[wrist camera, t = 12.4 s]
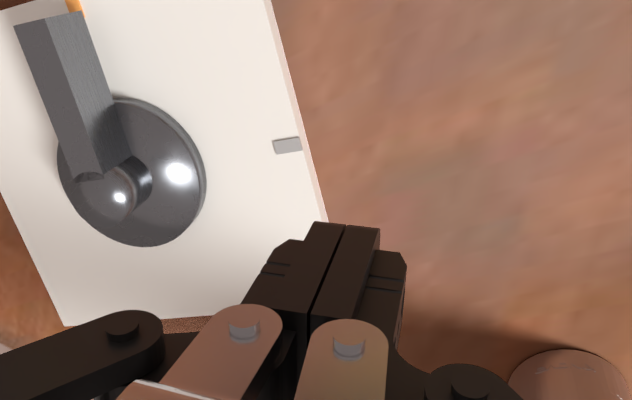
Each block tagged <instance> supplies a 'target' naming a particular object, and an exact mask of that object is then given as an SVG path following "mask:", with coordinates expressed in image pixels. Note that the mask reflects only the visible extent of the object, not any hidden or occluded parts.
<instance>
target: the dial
mask: <svg viewBox="0 0 632 400" xmlns="http://www.w3.org/2000/svg"><path fill="white" fill-rule="evenodd" d="M13 28H14V30H15V33H16V35H17V38H18V40H19V43H20V45H21V48H22V50H23V53H24V55H25V58H26V60H27V63H28V65H29V68H30V70H31V73H32V75H33V78H34V80H35V83H36V86H37V88H38V91H39V93H40V96H41V98H42V101H43V103H44V106H45V108H46V111H47V113H48V116H49V118H50V121H51V123H52V126H53V128H54V131H55V133H56V136H57V138H58V141H59V142H58V148H57V168H58V173H59V178H60V181H61V184H62V187H63V189H64V191H65V193H66V195H67V197H68V199H69V201H70V202H71V204H72V205H73V207H74V209H75V210H76V212H77V213H78V214H79V215H80V216H81V217H82V218H83V219H84V220H85V221H86V222H87V223H88V224H89V225H91V226H92V227H93V228H94V229H96V230H97V231H98V232H100V233H101V234H103V235H105V236H106V237H108V238H110V239H112V240H114V241H117V242H120V243H122V244H126V245H130V246H135V247H154V246H160V245H163V244H166V243H168V242H170V241H172V240H174V239H176V238H177V237H179V236H180V235H181V234H182V233H183V232H184V231H185V230H186V229H187V228H188V227H189V226H190V225H191V224H192V223H193V222H194V221H195V219H196V218H197V216H198V215H199V213H200V211H201V209H202V207H203V204H204V201H205V197H206V190H207V180H206V172H205V167H204V163H203V160H202V158H201V155H200V153H199V151H198V149H197V147H196V145H195V143H194V141H193V140H192V138H191V137H190V135H189V134H188V133H187V132H186V130H185V129H184V128H183V127H182V126H181V125H180V124H179V123H178V122H177V121H176V120H175V119H174V118H172V117H171V116H170V115H169V114H167V113H166V112H164V111H163V110H161V109H159V108H158V107H156V106H153V105H151V104H149V103H146V102H143V101H140V100H136V99H130V98H112V95H111V92H110V90H109V87H108V84H107V81H106V78H105V75H104V73H103V70H102V67H101V64H100V61H99V58H98V56H97V53H96V50H95V47H94V44H93V41H92V38H91V36H90V33H89V30H88V27H87V24H86V21H85V19H84V16H83V13H82V10H80V11H76V12H71V13H66V14H62V15H57V16H52V17H48V18H43V19H39V20H35V21H31V22H27V23H23V24H18V25H14V26H13Z"/></svg>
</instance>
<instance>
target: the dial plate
mask: <svg viewBox="0 0 632 400" xmlns="http://www.w3.org/2000/svg"><path fill="white" fill-rule="evenodd" d="M80 10H82V13H83V16H84V19H85V21H86V24H87V27H88V30H89V33H90V36H91V38H92V41H93V44H94V47H95V50H96V53H97V56H98V58H99V61H100V64H101V67H102V70H103V73H104V75H105V78H106V81H107V84H108V87H109V90H110V92H111V95H112V98H130V99H136V100H140V101H143V102H146V103H149V104H151V105H153V106H156V107H158V108H159V109H161V110H163V111H164V112H166V113H167V114H169V115H170V116H171V117H172V118H174V119H175V120H176V121H177V122H178V123H179V124H180V125H181V126H182V127H183V128H184V129H185V130H186V132H187V133H188V134H189V135H190V137H191V138H192V140H193V141H194V143H195V145H196V147H197V149H198V151H199V153H200V155H201V158H202V160H203V163H204V167H205V172H206V180H207V190H206V197H205V201H204V204H203V207H202V209H201V211H200V213H199V215H198V216H197V218H196V219H195V221H194V222H193V223H192V224H191V225H190V226H189V227H188V228H187V229H186V230H185V231H184V232H183V233H182V234H181V235H180V236H179V237H177V238H176V239H174V240H172V241H170V242H168V243H166V244H163V245H160V246H154V247H135V246H130V245H126V244H122V243H120V242H117V241H114V240H112V239H110V238H108V237H106V236H105V235H103V234H101V233H100V232H98V231H97V230H96V229H94V228H93V227H92V226H91V225H89V224H88V223H87V222H86V221H85V220H84V219H83V218H82V217H81V216H80V215H79V214H78V213H77V212H76V210H75V209H74V207H73V205H72V204H71V202H70V201H69V199H68V197H67V195H66V193H65V191H64V189H63V187H62V184H61V181H60V178H59V173H58V168H57V148H58V142H59V141H58V138H57V136H56V133H55V131H54V128H53V126H52V123H51V121H50V118H49V116H48V113H47V111H46V108H45V106H44V103H43V101H42V98H41V96H40V93H39V91H38V88H37V86H36V83H35V80H34V78H33V75H32V73H31V70H30V68H29V65H28V63H27V60H26V58H25V55H24V53H23V50H22V48H21V45H20V43H19V40H18V38H17V35H16V33H15V30H14V28H13V26H14V25H18V24H23V23H27V22H31V21H35V20H39V19H43V18H48V17H52V16H57V15H62V14H66V13H71V12H76V11H80ZM0 192H1V194H2V197H3V199H4V201H5V203H6V205H7V207H8V209H9V211H10V213H11V215H12V218H13V220H14V222H15V224H16V226H17V228H18V230H19V232H20V234H21V236H22V239H23V241H24V243H25V245H26V247H27V249H28V251H29V253H30V255H31V257H32V260H33V262H34V264H35V266H36V268H37V270H38V272H39V274H40V276H41V278H42V281H43V283H44V285H45V287H46V289H47V291H48V293H49V295H50V297H51V299H52V302H53V304H54V306H55V308H56V310H57V312H58V314H59V316H60V318H61V320H62V323H63V325H64V326H78V325H81V324H84V323H86V322H89V321H92V320H95V319H97V318H100V317H103V316H105V315H108V314H111V313H114V312H118V311H124V310H142V311H147V312H150V313H152V314H154V315H156V316H157V317H158V318H159V319H169V318H183V317H196V316H209V315H215V314H216V313H217V312H219V311H221V310H222V309H225V308H227V307H230V306H234V305H239V304H240V303H241V302H242V300H243V299H244V297H245V295H246V294H247V292H248V290H249V289H250V287H251V286H252V284H253V282H254V281H255V279H256V277H257V276H258V274H260V271H261V269H262V268H263V266H264V264H266V261H267V259H268V258H269V256H270V255H271V253H272V251H273V250H274V248H276V247H278V246H279V245H281V244H282V243H284V242H285V241H287V240H288V239H295V240H303V241H304V239H305V237H306V235H307V233H308V231H309V230H310V228H311V226H312V224H313V222H314V221H320V222H328V223H329V221H328V218H327V214H326V210H325V206H324V202H323V198H322V195H321V191H320V187H319V183H318V179H317V175H316V172H315V168H314V164H313V160H312V156H311V153H310V149H309V145H308V141H307V137H306V133H305V130H304V126H303V122H302V118H301V114H300V110H299V107H298V103H297V99H296V95H295V91H294V88H293V84H292V80H291V76H290V72H289V68H288V65H287V61H286V57H285V53H284V49H283V45H282V42H281V38H280V34H279V30H278V26H277V22H276V19H275V15H274V11H273V7H272V3H271V0H34V1H31V2H28V3H24V4H21V5H17V6H14V7H11V8H7V9H4V10H0Z"/></svg>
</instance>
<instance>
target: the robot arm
mask: <svg viewBox="0 0 632 400" xmlns="http://www.w3.org/2000/svg"><path fill="white" fill-rule="evenodd" d="M379 247H380V229H379V228H371V227H363V226H354V225H347V226H346V225H345V224H337V223H328V222H320V221H314V222H313V224H312V226H311V228H310V230H309V231H308V233H307V235H306V237H305V239H304V241H303V240H295V239H288V240H287V241H285V242H284V243H282V244H281V245H279V246H278V247H276V248H274V250H273V251H272V253H271V255H270V256H269V258H268V259H267V261H266V264H264V266H263V268H262V269H261V271H260V274H258V276H257V277H256V279H255V281H254V282H253V284H252V286H251V287H250V289H249V290H248V292H247V294H246V295H245V297H244V299H243V300H242V302H241V303H240V304H239V305H234V306H230V307H227V308H225V309H222V310H221V311H219V312H217V313H216V314H215V315H213V316H212V317H211V318H210V320H209V321H208V322H207V323H206V325H205V326H204V327H203V328H202V330H201V331H199V332H189V333H173V334H164V333H163V325H162V322H161V320H160V319H159V318H158V317H157V316H156V315H154V314H152V313H150V312H147V311H142V310H124V311H118V312H114V313H111V314H108V315H105V316H103V317H100V318H97V319H95V320H92V321H89V322H86V323H84V324H81V325H78V326H76V327H73V328H70V329H68V330H65V331H62V332H60V333H57V334H54V335H52V336H49V337H46V338H44V339H41V340H38V341H36V342H33V343H30V344H27V345H25V346H22V347H19V348H17V349H14V350H11V351H9V352H7V353H3V354H1V355H0V400H91V399H93V398H94V400H632V399H631V396H630V393H629V390H628V387H627V384H626V382H625V379H624V378H623V376H622V375H621V373H620V372H619V371H618V370H617V369H616V368H615V367H614V366H613V365H612V364H611V363H609V362H607V361H606V360H604V359H602V358H601V357H598V356H596V355H593V354H590V353H588V352H583V351H578V350H566V349H560V350H552V351H546V352H543V353H540V354H537V355H534V356H533V357H531V358H529V359H527V360H525V361H524V362H523V363H521V364H520V365H519V366H518V367H517V368H516V369H515V371H514V372H513V373H512V375H511V377H510V379H509V382H508V384H507V383H506V382H505V381H503V380H502V379H501V378H500V377H499V376H497V375H496V374H494V373H492V372H490V371H488V370H486V369H484V368H481V367H478V366H474V365H469V364H449V365H445V366H442V367H440V368H437V369H436V370H434V371H433V372H432V373H431V374H428V373H426V372H423V371H421V370H419V369H417V368H415V367H413V366H412V365H410V364H409V363H407V362H406V361H405V360H404V359H403V358H402V357H401V356H400V355H399V354H398V352H397V348H398V342H399V336H400V330H401V325H402V316H403V305H404V294H405V282H406V271H407V265H406V263H405V261H404V260H403V258H402V256H401V254H400V253H398V252H390V251H382V250H379Z"/></svg>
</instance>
